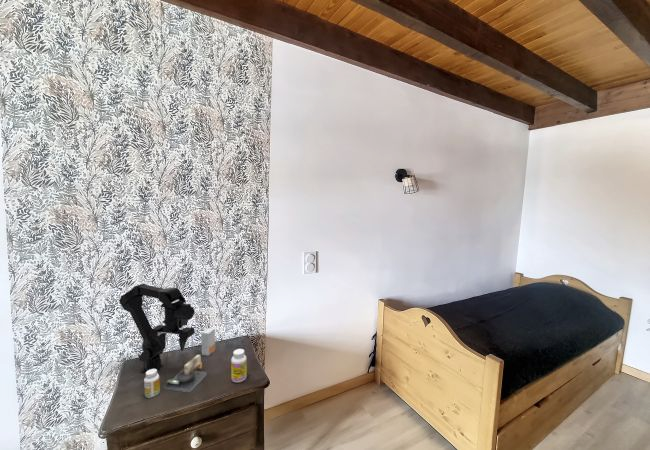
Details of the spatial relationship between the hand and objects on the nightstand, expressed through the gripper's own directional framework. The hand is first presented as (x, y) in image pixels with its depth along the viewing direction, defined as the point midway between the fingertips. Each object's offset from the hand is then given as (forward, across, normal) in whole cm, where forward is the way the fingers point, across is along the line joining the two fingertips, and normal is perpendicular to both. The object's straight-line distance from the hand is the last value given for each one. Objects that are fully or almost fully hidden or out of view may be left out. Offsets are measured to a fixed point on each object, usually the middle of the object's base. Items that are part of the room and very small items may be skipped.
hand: (173, 349), depth 127 cm
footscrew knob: (+10, -9, +1) cm, 14 cm away
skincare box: (+12, -5, -20) cm, 24 cm away
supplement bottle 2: (+12, -31, -2) cm, 33 cm away
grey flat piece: (+12, -9, +2) cm, 15 cm away
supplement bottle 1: (+12, 0, +13) cm, 18 cm away
